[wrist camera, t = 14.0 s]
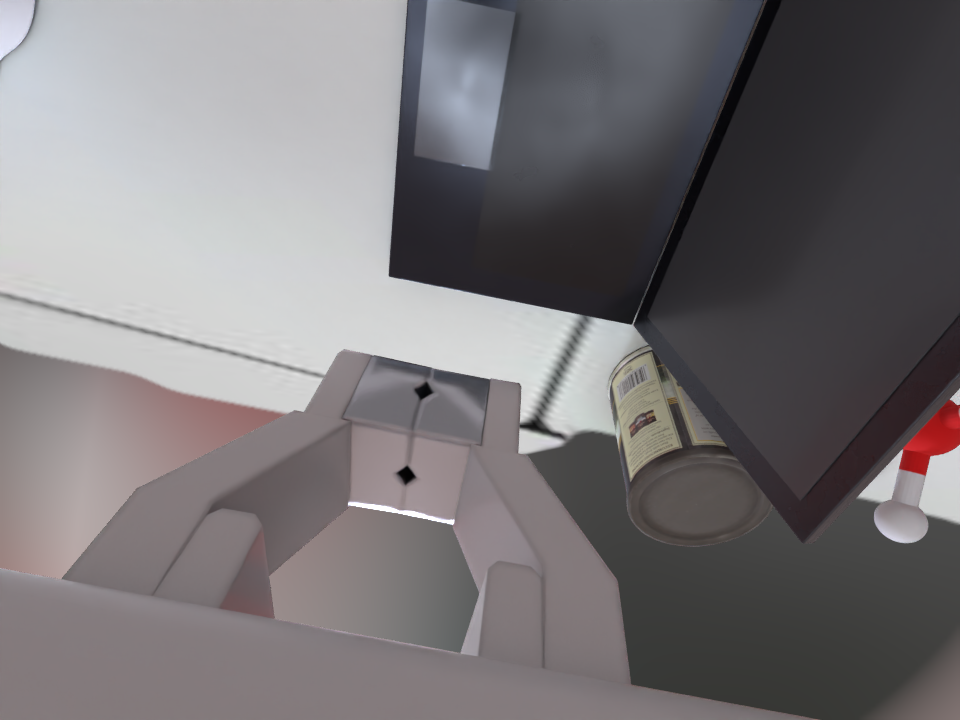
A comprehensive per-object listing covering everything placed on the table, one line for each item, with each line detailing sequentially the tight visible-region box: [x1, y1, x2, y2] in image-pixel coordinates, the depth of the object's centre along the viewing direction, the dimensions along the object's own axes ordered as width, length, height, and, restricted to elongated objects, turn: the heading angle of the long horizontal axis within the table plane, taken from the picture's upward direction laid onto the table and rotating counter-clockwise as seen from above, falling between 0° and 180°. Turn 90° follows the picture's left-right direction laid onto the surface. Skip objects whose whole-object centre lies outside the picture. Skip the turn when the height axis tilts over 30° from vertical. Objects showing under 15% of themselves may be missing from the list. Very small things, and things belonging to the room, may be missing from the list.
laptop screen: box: [634, 0, 960, 544], centre depth 26 cm, size 21×30×1 cm
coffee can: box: [608, 346, 773, 546], centre depth 43 cm, size 10×10×14 cm
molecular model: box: [874, 400, 960, 543], centre depth 43 cm, size 18×6×10 cm, turn 170°
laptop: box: [389, 0, 764, 324], centre depth 35 cm, size 21×30×2 cm
